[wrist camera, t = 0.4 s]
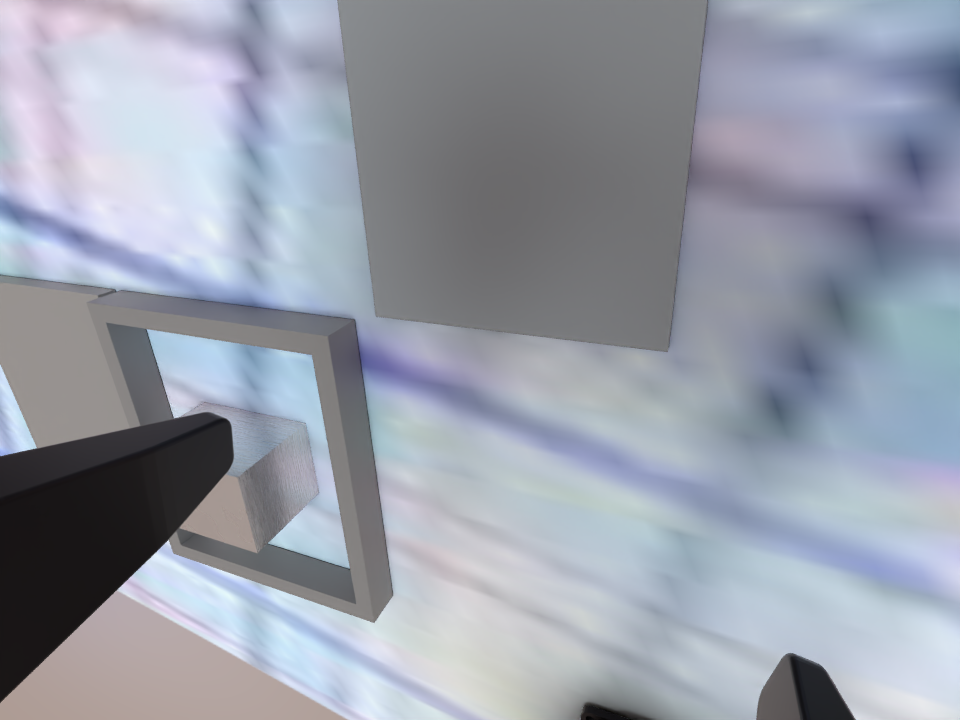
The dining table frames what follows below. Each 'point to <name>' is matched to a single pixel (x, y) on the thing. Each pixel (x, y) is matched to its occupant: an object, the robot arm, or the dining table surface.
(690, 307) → the dining table surface
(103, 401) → the gray rectangular frame
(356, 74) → the slate mat
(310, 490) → the block
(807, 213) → the dining table surface
